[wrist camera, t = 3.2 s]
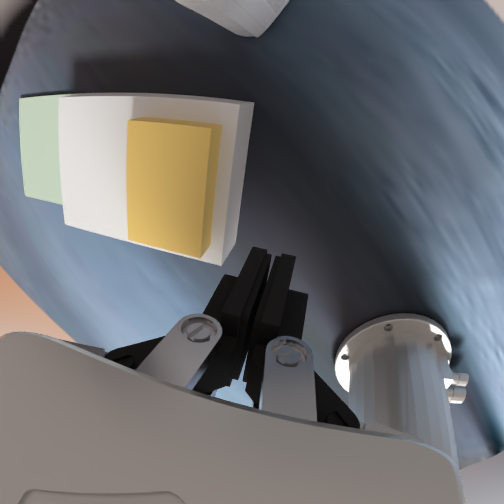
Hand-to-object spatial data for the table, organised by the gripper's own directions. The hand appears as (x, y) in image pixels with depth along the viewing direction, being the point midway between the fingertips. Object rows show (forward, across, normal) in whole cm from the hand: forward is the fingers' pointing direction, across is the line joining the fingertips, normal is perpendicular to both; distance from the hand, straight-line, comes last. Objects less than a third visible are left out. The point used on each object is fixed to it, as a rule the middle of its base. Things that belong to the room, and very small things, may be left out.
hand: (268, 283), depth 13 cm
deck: (+14, +12, +1) cm, 19 cm away
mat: (+14, +26, +1) cm, 30 cm away
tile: (+10, +8, +1) cm, 13 cm away
